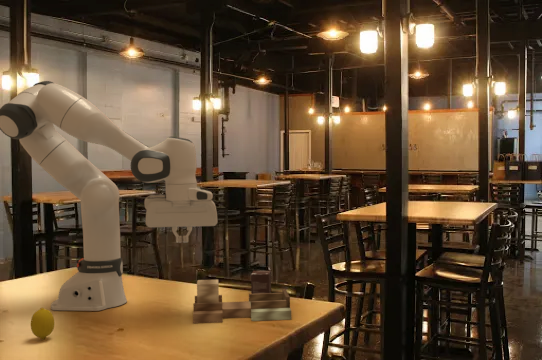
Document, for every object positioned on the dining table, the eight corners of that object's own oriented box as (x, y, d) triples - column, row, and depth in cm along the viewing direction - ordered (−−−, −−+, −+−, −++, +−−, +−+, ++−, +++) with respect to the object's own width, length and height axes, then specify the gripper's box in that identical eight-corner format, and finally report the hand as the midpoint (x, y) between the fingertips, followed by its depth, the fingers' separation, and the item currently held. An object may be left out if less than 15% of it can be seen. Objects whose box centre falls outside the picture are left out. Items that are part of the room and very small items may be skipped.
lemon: (35, 336, 146) (34, 305, 145) (57, 335, 146) (56, 304, 146) (27, 343, 140) (27, 311, 140) (51, 342, 141) (50, 310, 140)
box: (271, 292, 191) (271, 270, 191) (269, 296, 185) (269, 274, 185) (253, 292, 192) (253, 270, 191) (251, 296, 186) (250, 274, 185)
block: (197, 309, 161) (196, 284, 160) (198, 304, 167) (197, 280, 166) (218, 308, 161) (218, 283, 161) (218, 303, 167) (218, 279, 167)
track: (193, 323, 156) (192, 303, 155) (195, 308, 171) (195, 290, 171) (291, 319, 158) (291, 299, 158) (284, 304, 174) (284, 286, 174)
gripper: (142, 195, 158) (143, 244, 158) (216, 193, 160) (217, 243, 160) (145, 193, 164) (146, 241, 165) (217, 192, 166) (217, 239, 167)
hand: (182, 242), depth 163 cm, fingers closed
